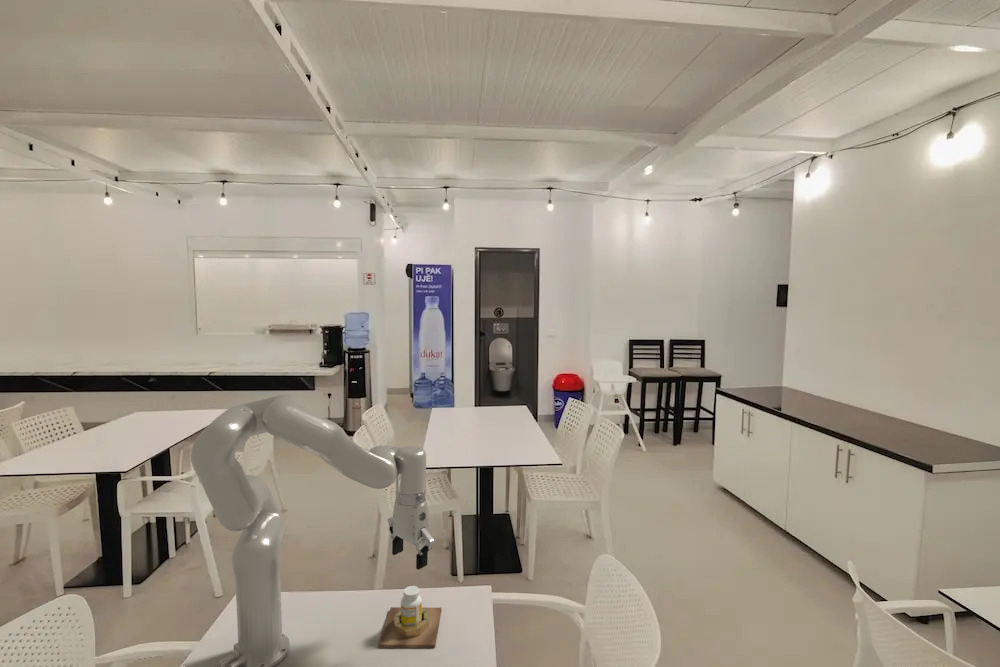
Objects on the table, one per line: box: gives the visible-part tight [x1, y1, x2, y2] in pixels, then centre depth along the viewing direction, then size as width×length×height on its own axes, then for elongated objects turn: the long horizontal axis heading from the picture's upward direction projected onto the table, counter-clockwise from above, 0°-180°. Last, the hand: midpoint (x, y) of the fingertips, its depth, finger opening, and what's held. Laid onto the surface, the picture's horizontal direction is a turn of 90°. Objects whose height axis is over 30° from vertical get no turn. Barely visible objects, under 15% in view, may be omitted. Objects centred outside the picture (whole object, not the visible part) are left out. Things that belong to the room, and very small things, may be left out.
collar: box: [394, 607, 429, 638], centre depth 126 cm, size 9×9×2 cm
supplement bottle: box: [400, 585, 423, 627], centre depth 125 cm, size 5×5×10 cm
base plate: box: [378, 606, 443, 649], centre depth 126 cm, size 14×14×1 cm
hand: (409, 559), depth 124 cm, fingers open, 9 cm apart
